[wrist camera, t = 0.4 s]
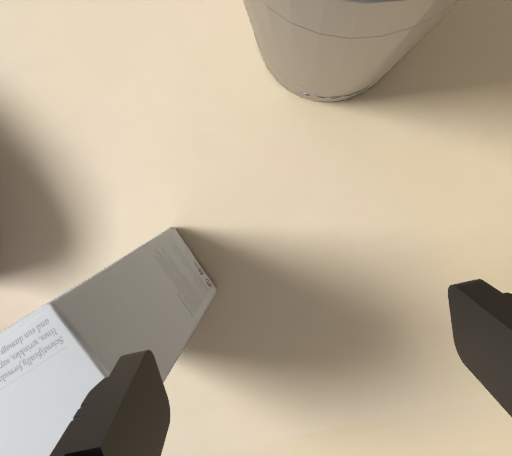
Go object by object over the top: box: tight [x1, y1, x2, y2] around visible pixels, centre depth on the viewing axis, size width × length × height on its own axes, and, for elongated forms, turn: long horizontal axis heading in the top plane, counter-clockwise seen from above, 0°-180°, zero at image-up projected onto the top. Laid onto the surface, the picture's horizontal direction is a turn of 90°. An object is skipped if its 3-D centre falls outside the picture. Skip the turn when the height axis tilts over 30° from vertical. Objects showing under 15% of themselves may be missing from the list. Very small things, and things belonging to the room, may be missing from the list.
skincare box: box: [0, 227, 217, 456], centre depth 23 cm, size 8×6×15 cm
